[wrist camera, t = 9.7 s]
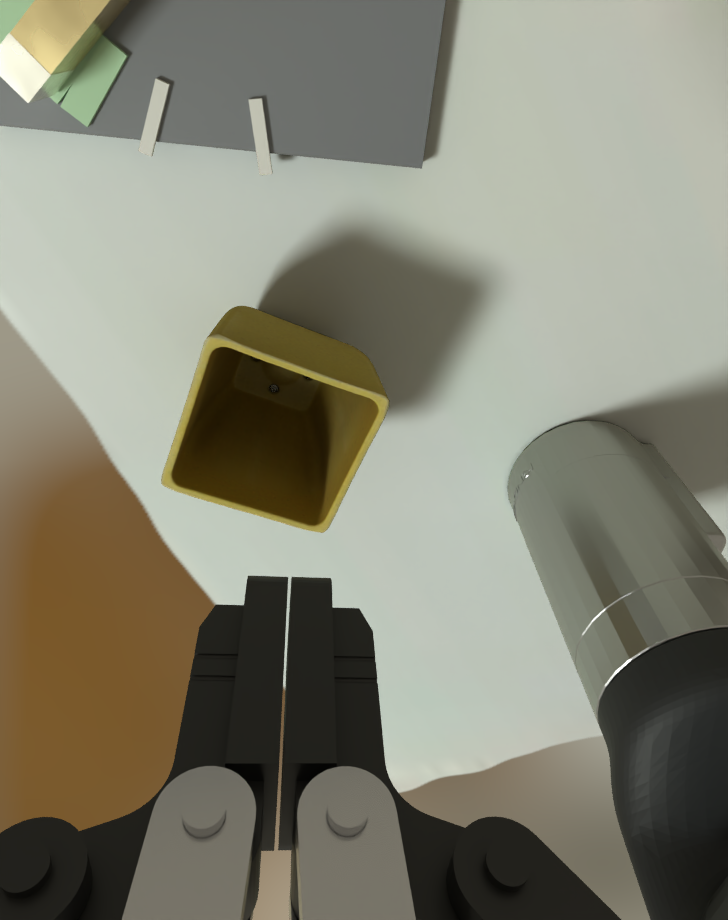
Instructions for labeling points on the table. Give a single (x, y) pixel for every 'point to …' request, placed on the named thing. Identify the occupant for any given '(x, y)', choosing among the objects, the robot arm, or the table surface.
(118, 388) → the table surface
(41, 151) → the table surface
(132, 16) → the board
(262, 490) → the flower pot
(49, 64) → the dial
